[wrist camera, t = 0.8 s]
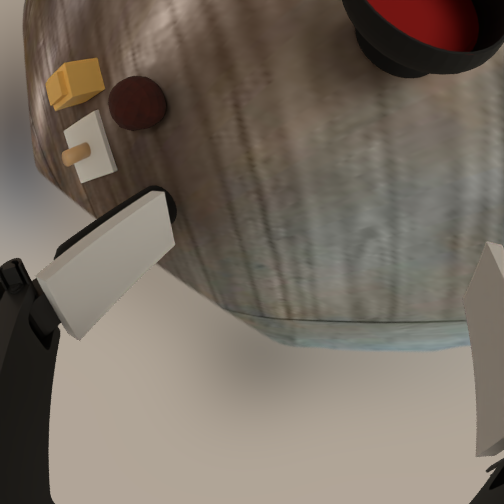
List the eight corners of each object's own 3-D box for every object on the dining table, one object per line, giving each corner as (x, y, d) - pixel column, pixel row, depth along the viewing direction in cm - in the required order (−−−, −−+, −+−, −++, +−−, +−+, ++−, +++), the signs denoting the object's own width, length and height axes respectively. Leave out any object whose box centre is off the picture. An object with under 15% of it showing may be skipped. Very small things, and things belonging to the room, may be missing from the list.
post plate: (67, 129, 47) (44, 138, 42) (98, 109, 41) (72, 117, 37) (84, 181, 52) (63, 193, 48) (117, 170, 47) (93, 182, 42)
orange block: (78, 73, 38) (41, 81, 32) (97, 57, 35) (58, 63, 29) (85, 102, 41) (49, 113, 35) (105, 88, 38) (66, 98, 32)
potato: (140, 66, 34) (102, 70, 28) (186, 87, 34) (149, 93, 28) (127, 111, 40) (90, 122, 34) (168, 135, 39) (133, 149, 34)
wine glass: (406, 96, 25) (453, 114, 10) (336, 33, 24) (285, -26, 9) (462, 44, 18) (552, 15, 3) (390, -20, 17) (396, -116, 2)
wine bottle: (144, 178, 45) (-8, 283, 23) (180, 197, 45) (26, 324, 22) (140, 213, 50) (10, 319, 27) (172, 233, 50) (43, 355, 27)
